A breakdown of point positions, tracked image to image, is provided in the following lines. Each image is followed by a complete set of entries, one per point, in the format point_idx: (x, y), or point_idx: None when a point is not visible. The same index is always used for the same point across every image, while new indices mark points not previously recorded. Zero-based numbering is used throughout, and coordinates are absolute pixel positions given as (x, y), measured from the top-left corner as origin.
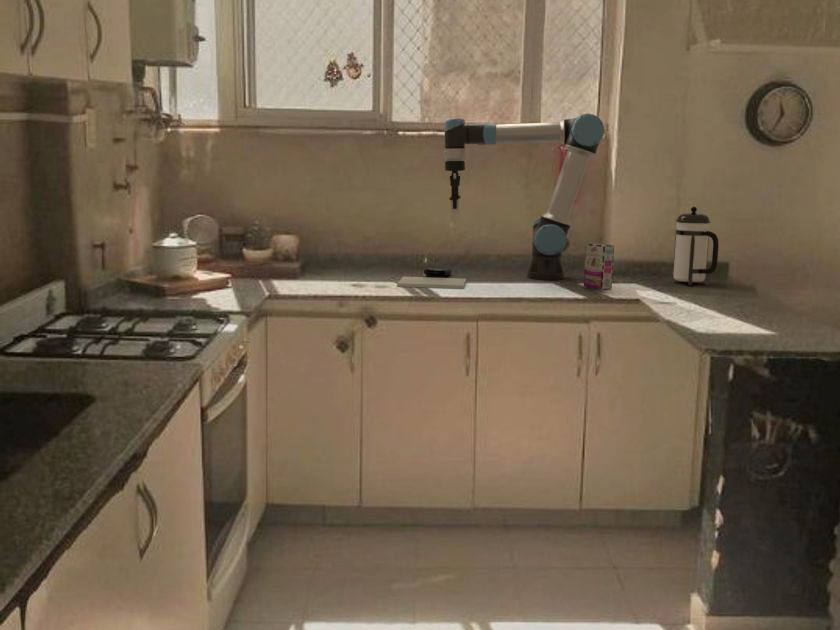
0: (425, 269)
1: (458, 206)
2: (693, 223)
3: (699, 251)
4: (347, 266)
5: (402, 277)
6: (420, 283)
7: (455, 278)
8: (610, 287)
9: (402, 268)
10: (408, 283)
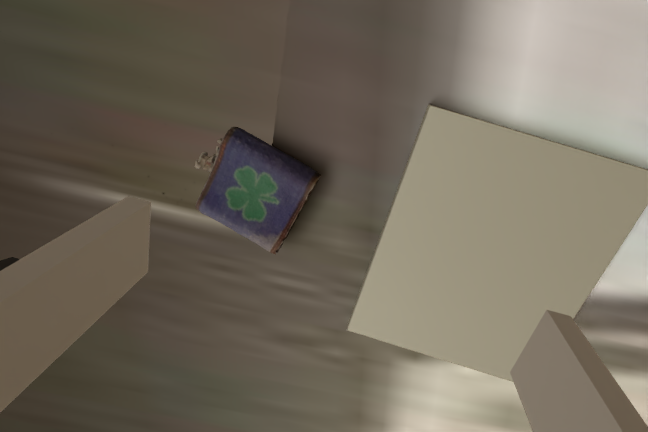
0: (262, 246)
1: (69, 261)
2: None
3: None
4: (21, 397)
5: (369, 336)
6: None
7: (416, 151)
8: None
9: (21, 254)
10: None
